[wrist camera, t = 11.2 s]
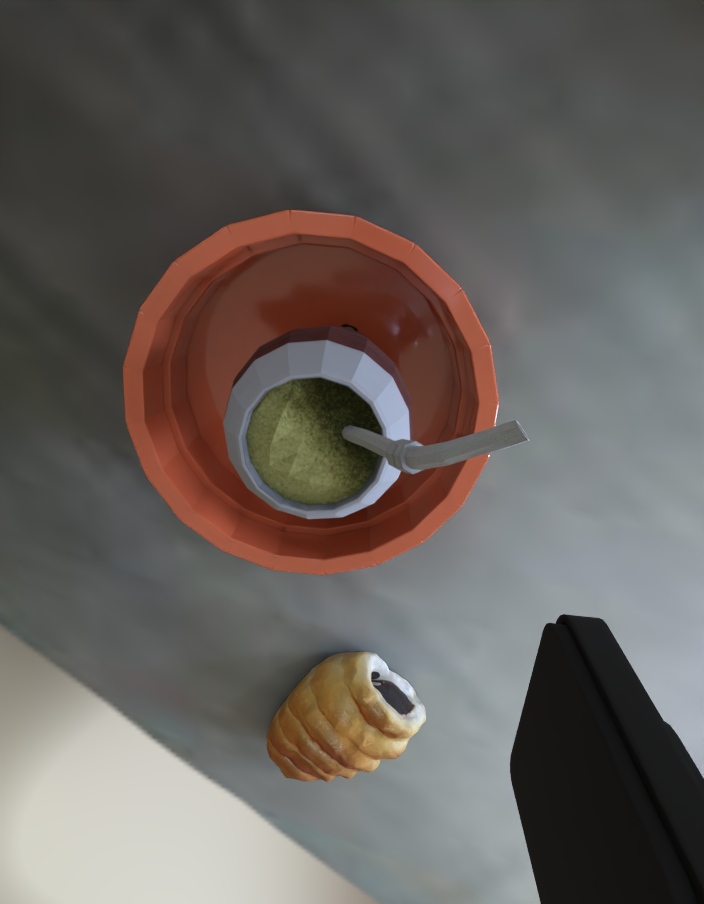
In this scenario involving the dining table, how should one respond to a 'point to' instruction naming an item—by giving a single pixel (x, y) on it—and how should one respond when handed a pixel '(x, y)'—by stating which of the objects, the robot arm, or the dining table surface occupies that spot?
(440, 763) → the dining table surface
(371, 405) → the mate gourd
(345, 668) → the pastry
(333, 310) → the terracotta bowl
